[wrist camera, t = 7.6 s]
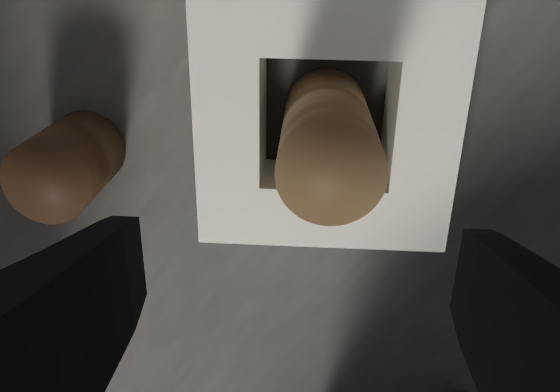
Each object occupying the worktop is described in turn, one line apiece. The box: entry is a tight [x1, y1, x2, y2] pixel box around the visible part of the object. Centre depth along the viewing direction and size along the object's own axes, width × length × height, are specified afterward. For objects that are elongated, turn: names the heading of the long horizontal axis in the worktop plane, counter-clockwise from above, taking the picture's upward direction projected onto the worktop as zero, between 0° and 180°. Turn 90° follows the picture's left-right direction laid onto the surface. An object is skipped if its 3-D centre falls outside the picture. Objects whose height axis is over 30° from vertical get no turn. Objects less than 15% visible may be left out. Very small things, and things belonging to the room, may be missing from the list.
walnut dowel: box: [0, 111, 125, 225], centre depth 20 cm, size 3×3×4 cm
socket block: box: [186, 0, 487, 252], centre depth 19 cm, size 9×9×3 cm
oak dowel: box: [274, 68, 389, 226], centre depth 17 cm, size 3×3×7 cm
